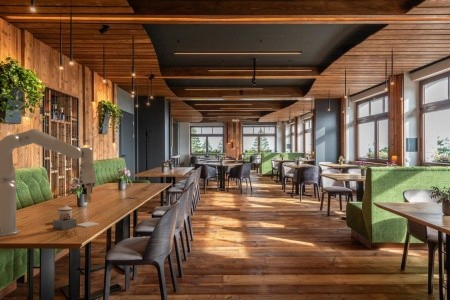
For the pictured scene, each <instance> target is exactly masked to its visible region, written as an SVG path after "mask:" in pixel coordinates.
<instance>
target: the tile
mask: <svg viewBox="0 0 450 300" xmlns="http://www.w3.org/2000/svg"><path fill="white" fill-rule="evenodd" d="M99 225H100V223H98V222H93V221H86V222H82V223H77V227H81V228H90V227H94V226H99Z"/></svg>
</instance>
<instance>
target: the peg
mask: <svg viewBox="0 0 450 300" xmlns="http://www.w3.org/2000/svg"><path fill="white" fill-rule="evenodd" d="M86 188H87V194H83V202H84V203H92V193H91V183H87V184H86Z"/></svg>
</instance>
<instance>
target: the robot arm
mask: <svg viewBox="0 0 450 300" xmlns="http://www.w3.org/2000/svg"><path fill="white" fill-rule="evenodd" d="M32 144H35V145H37V146H39V147H42V148H45V149H47V150H49V151H51V152H55V153H58V154H62V155H64V156H66V157H69V158H70V159H74V160H78V159H80V164H79V167H80V169H79V175H78V179H79V180H78V183H77V185H79V187H81V189H82V194H83V195H84V194H87V188H86V184H87V183H91V194H93V187H94V186H95V184H97V176H96V175H97V174H96V170H95V167H94V149H93V147H77V146H76V145H73V144H70V143H68V142H65V141H63V140H61V139H59V138H57V137H55V136H53V135H50V134H47V133H46V132H43V131H42V130H39V129H36V128H31V129H29V130H26V131H23V132H18V133H15V134H14V133H13V134H8V135H6V136H5V137H3V138H2V139H1V140H0V237H5V236H12V235H17V234H19V233H20V232H21V231H20V229H17V228H18V227H17V177H16V168H15V166H14V160H13V159H14V155H13V154H14V153H13V152H14V149H17V148H21V147H24V146H28V145H32Z"/></svg>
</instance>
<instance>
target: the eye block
mask: <svg viewBox="0 0 450 300" xmlns="http://www.w3.org/2000/svg"><path fill="white" fill-rule="evenodd" d="M77 224H78V223H77V219H76V218H62V219H59V218H58V219H54V220H52V228H53V229H55V230H61V231H64V230H65V231H66V230H67V229H72V228H73V229H74V228H77V227H78V226H77Z"/></svg>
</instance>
